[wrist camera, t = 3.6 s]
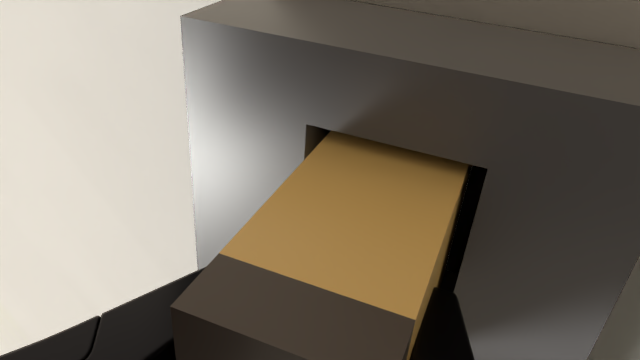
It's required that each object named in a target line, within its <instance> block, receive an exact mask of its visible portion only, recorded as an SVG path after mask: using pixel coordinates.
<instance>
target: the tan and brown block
mask: <svg viewBox="0 0 640 360" xmlns="http://www.w3.org/2000/svg"><path fill="white" fill-rule="evenodd" d="M472 166H473V165H470V164H466V163H462V162H458V161H454V160H450V159H446V158H442V157H438V156H434V155H430V154H426V153H422V152H418V151H413V150H409V149H405V148H401V147H397V146H393V145H389V144H385V143H381V142H377V141H373V140H369V139H365V138H360V137H356V136H352V135H348V134H344V133H340V132H336V131H332V130H331V131H330V132H329V133H328V135H327V136H326V137H325V138H324V139H323V140H322V141H321V142H320V143H319V144H318V145H317V147H316V148H315V149H314V150H313V151H312V152H311V153H310V154H309V155H308V156H307V157H306V159H305V160H304V161H303V162H302V163H301V164H300V165H299V166H298V167H297V168H296V169H295V171H294V172H293V173H292V174H291V175H290V176H289V177H288V178H287V179H286V180H285V181H284V183H283V184H282V185H281V186H280V187H279V188H278V189H277V190H276V191H275V192H274V193H273V195H272V196H271V197H270V198H269V199H268V200H267V201H266V202H265V203H264V204H263V205H262V207H261V208H260V209H259V210H258V211H257V212H256V213H255V214H254V215H253V216H252V217H251V219H250V220H249V221H248V222H247V223H246V224H245V225H244V226H243V227H242V228H241V229H240V231H239V232H238V233H237V234H236V235H235V236H234V237H233V238H232V239H231V240H230V241H229V243H228V244H227V245H226V246H225V247H224V248H223V249H222V250H221V251H220V252H219V253H218V255H217V256H216V257H215V258H214V259H213V260H212V261H211V262H210V263H209V264H208V266H207V267H206V268H205V269H204V270H203V271H202V272H201V273H200V274H199V275H198V276H197V278H196V279H195V280H194V281H193V282H192V283H191V284H190V285H189V286H188V287H187V288H186V290H185V291H184V292H183V293H182V294H181V295H180V296H179V297H178V298H177V299H176V300H175V302H174V303H173V304H172V305H171V306H170V311H171V320H172V329H173V338H174V347H175V356H176V360H410V358H411V354H412V350H413V346H414V343H415V340H416V337H417V334H418V331H419V329H420V326H421V323H422V320H423V317H424V314H425V311H426V308H427V305H428V303H429V300H430V297H431V294H432V291H433V288H434V287H437V288H440V286H441V283H442V279H443V276H444V273H445V270H446V266H447V262H448V259H449V255H450V251H451V247H452V243H453V239H454V235H455V231H456V228H457V224H458V220H459V216H460V212H461V208H462V204H463V201H464V197H465V193H466V189H467V185H468V181H469V177H470V173H471V170H472Z"/></svg>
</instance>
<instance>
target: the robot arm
mask: <svg viewBox="0 0 640 360" xmlns="http://www.w3.org/2000/svg"><path fill="white" fill-rule="evenodd" d="M206 267H207V266H206ZM206 267H204V268H202V269H199V270H197V271H195V272H193V273H191V274H188V275H186V276H184V277H182V278H180V279H177V280H175V281H173V282H171V283H169V284H166V285H164V286H162V287H160V288H158V289H155V290H153V291H151V292H149V293H147V294H144V295H142V296H140V297H138V298H135V299H133V300H131V301H129V302H127V303H124V304H122V305H120V306H118V307H116V308H113V309H111V310H109V311H107V312H105V313H103V314H102V315H101V317H100V316H95V317H93V318H91V319H89V320H87V321H84V322H82V323H80V324H78V325H76V326H73V327H71V328H69V329H66V330H64V331H62V332H59V333H57V334H55V335H52V336H50V337H48V338H45V339H43V340H40V341H38V342H35V343H32V344H30V345H27V346H25V347H22V348H20V349H17V350H14V351H12V352H9V353H7V354H4V355H1V356H0V360H176V356H175V347H174V338H173V329H172V320H171V311H170V306H171V305H172V304H173V303H174V302H175V300H176V299H177V298H178V297H179V296H180V295H181V294H182V293H183V292H184V291H185V290H186V288H187V287H188V286H189V285H190V284H191V283H192V282H193V281H194V280H195V279H196V278H197V276H198V275H199V274H200V273H201V272H202V271H203V270H204V269H205V268H206ZM410 360H475V359H474V355H473V352H472V348H471V344H470V341H469V337H468V333H467V330H466V326H465V323H464V319H463V315H462V312H461V308H460V304H459V301H458V297H457V295H456V294H455V293H453V292H450V291H447V290H444V289H441V288H437V287H434V288H433V291H432V294H431V297H430V300H429V303H428V305H427V308H426V311H425V314H424V317H423V320H422V323H421V326H420V329H419V331H418V334H417V337H416V340H415V343H414V346H413V350H412V354H411V358H410Z"/></svg>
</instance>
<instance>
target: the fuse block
mask: <svg viewBox="0 0 640 360" xmlns="http://www.w3.org/2000/svg"><path fill="white" fill-rule="evenodd" d="M180 17H181V32H182V47H183V61H184V76H185V90H186V105H187V120H188V134H189V149H190V163H191V178H192V192H193V207H194V222H195V236H196V251H197V265H198V270H199V269H202V268H204V267H206V266H208V264H209V263H210V262H211V261H212V260H213V259H214V258H215V257H216V256H217V255H218V253H219V252H220V251H221V250H222V249H223V248H224V247H225V246H226V245H227V244H228V243H229V241H230V240H231V239H232V238H233V237H234V236H235V235H236V234H237V233H238V232H239V231H240V229H241V228H242V227H243V226H244V225H245V224H246V223H247V222H248V221H249V220H250V219H251V217H252V216H253V215H254V214H255V213H256V212H257V211H258V210H259V209H260V208H261V207H262V205H263V204H264V203H265V202H266V201H267V200H268V199H269V198H270V197H271V196H272V195H273V193H274V192H275V191H276V190H277V189H278V188H279V187H280V186H281V185H282V184H283V183H284V181H285V180H286V179H287V178H288V177H289V176H290V175H291V174H292V173H293V172H294V171H295V169H296V168H297V167H298V166H299V165H300V164H301V163H302V162H303V161H304V160H305V159H306V157H307V156H308V155H309V154H310V153H311V152H312V151H313V150H314V149H315V148H316V147H317V145H318V144H319V143H320V142H321V141H322V140H323V139H324V138H325V137H326V136H327V135H328V133H329V132H330V131H331V130H332V131H336V132H340V133H344V134H348V135H352V136H356V137H360V138H365V139H369V140H373V141H377V142H381V143H385V144H389V145H393V146H397V147H401V148H405V149H409V150H413V151H418V152H422V153H426V154H430V155H434V156H438V157H442V158H446V159H450V160H454V161H458V162H462V163H466V164H470V165H475V166H479V167H483V168H487V173H486V177H485V180H484V184H483V187H482V191H481V195H480V198H479V202H478V205H477V209H476V213H475V216H474V220H473V223H472V227H471V231H470V234H469V238H468V241H467V245H466V249H465V252H464V256H463V260H462V263H461V267H460V270H459V273H456V272H452V271H449V270H445V273H444V276H443V279H442V283H441V286H440V288H441V289H444V290H447V291H450V292H453V293H455V294H456V295H457V297H458V301H459V304H460V308H461V312H462V315H463V319H464V323H465V326H466V330H467V333H468V337H469V341H470V344H471V348H472V352H473V355H474V359H475V360H587V358H588V356H589V355H590V353H591V351H592V349H593V347H594V345H595V343H596V341H597V339H598V337H599V335H600V333H601V331H602V329H603V327H604V325H605V323H606V321H607V319H608V317H609V315H610V313H611V311H612V309H613V307H614V305H615V303H616V301H617V299H618V297H619V295H620V293H621V291H622V289H623V287H624V285H625V283H626V281H627V279H628V277H629V275H630V273H631V271H632V269H633V267H634V265H635V263H636V262H637V260H638V258H639V256H640V49H635V48H629V47H624V46H618V45H612V44H606V43H600V42H594V41H588V40H582V39H576V38H570V37H564V36H558V35H552V34H546V33H540V32H534V31H528V30H522V29H516V28H511V27H505V26H499V25H493V24H487V23H481V22H475V21H469V20H463V19H457V18H451V17H445V16H439V15H433V14H427V13H421V12H415V11H409V10H403V9H398V8H392V7H386V6H380V5H374V4H368V3H362V2H356V1H350V0H222V1H219V2H217V3H214V4H211V5H208V6H206V7H203V8H200V9H198V10H195V11H192V12H190V13H187V14H184V15H182V16H180Z"/></svg>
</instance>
